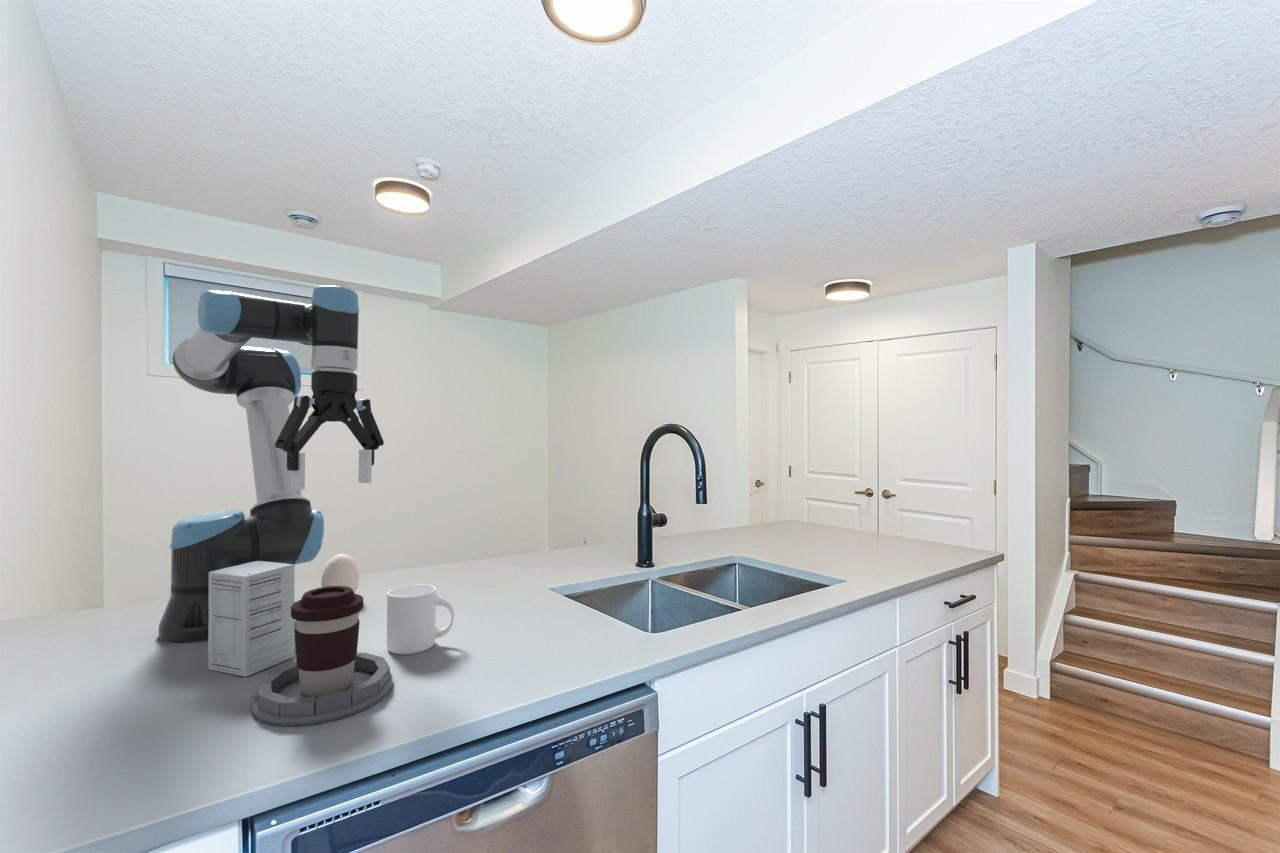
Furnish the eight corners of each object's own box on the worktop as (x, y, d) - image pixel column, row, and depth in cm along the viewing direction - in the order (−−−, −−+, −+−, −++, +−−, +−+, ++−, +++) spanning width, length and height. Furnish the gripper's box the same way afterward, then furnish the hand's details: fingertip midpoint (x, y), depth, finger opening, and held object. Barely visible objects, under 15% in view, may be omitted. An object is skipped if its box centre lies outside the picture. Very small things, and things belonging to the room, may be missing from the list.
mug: (450, 653, 106) (451, 595, 105) (381, 657, 103) (381, 597, 103) (456, 636, 114) (457, 582, 114) (392, 639, 112) (393, 584, 112)
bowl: (223, 707, 84) (223, 687, 84) (339, 660, 101) (339, 643, 101) (308, 739, 76) (308, 716, 76) (418, 682, 93) (418, 664, 93)
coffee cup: (309, 674, 93) (310, 583, 93) (372, 673, 94) (373, 582, 94) (276, 703, 84) (277, 601, 84) (346, 702, 84) (347, 600, 84)
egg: (353, 595, 140) (353, 548, 140) (363, 603, 134) (364, 554, 134) (316, 601, 134) (317, 553, 134) (326, 610, 129) (326, 559, 129)
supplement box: (296, 657, 103) (297, 563, 103) (246, 678, 94) (247, 576, 94) (257, 649, 106) (258, 559, 106) (205, 669, 97) (206, 570, 97)
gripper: (280, 364, 93) (278, 494, 93) (403, 376, 115) (401, 481, 115) (252, 365, 96) (250, 491, 96) (377, 377, 119) (375, 479, 119)
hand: (333, 486), depth 106 cm, fingers open, 13 cm apart
